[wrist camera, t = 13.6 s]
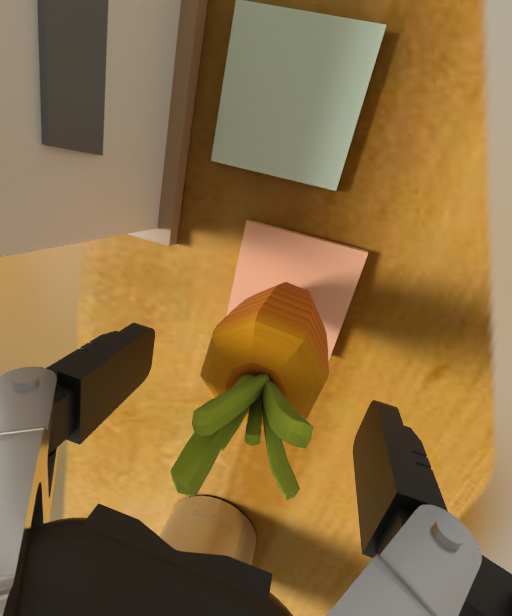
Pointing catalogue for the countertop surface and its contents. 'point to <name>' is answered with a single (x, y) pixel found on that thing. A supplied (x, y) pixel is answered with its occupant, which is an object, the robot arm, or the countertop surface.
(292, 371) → the carrot
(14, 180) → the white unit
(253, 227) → the terracotta tile
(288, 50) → the sage tile
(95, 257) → the countertop surface
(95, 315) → the countertop surface
